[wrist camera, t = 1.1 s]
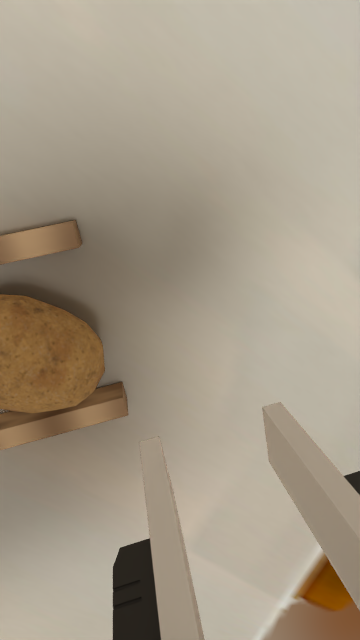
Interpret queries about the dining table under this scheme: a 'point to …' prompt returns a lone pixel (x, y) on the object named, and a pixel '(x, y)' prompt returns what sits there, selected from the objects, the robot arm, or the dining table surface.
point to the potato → (45, 356)
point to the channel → (104, 400)
